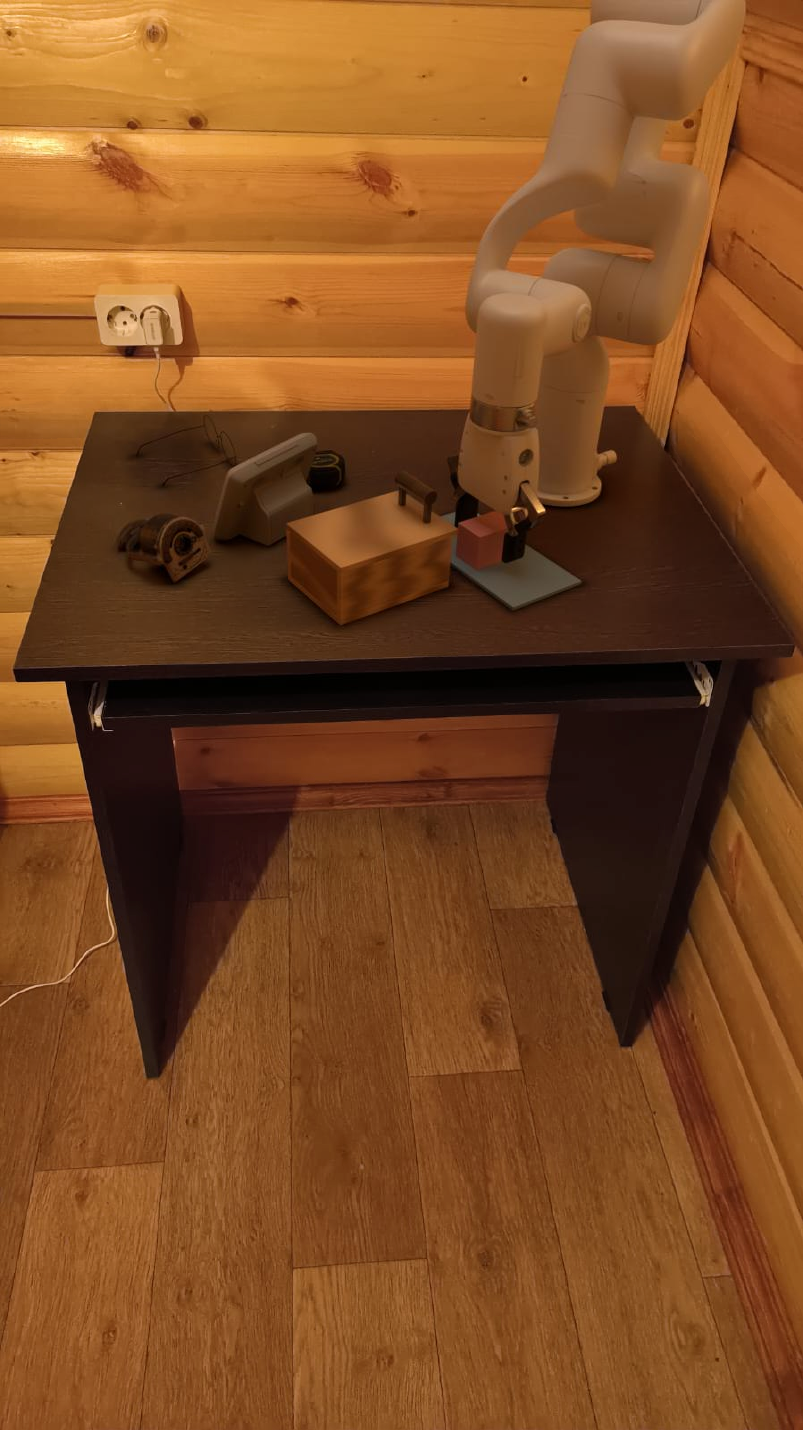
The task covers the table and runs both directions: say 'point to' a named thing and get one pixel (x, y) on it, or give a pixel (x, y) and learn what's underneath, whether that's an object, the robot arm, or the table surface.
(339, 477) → the tape measure
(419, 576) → the pencil box
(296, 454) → the digital clock
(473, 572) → the mat
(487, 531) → the eraser
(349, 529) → the lid
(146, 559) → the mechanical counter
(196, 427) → the eyeglasses
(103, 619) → the table surface
